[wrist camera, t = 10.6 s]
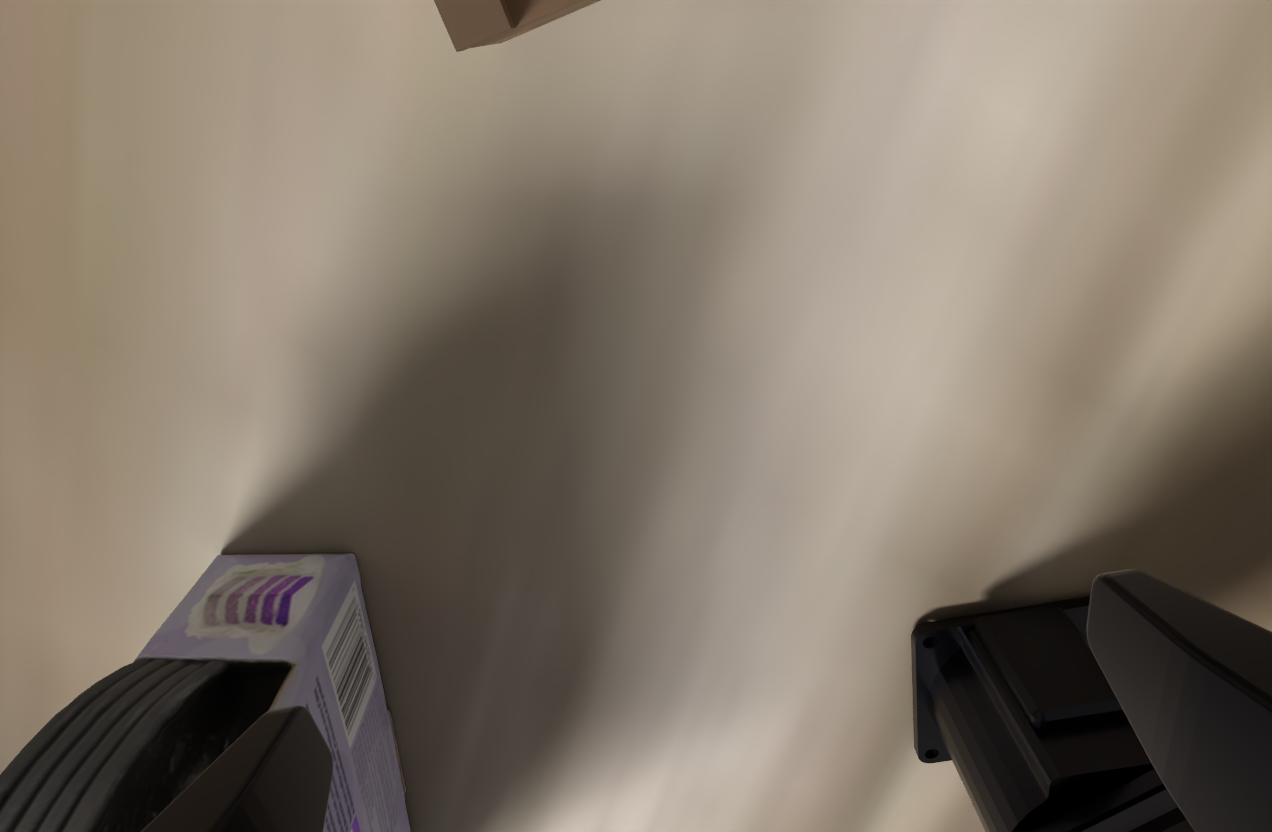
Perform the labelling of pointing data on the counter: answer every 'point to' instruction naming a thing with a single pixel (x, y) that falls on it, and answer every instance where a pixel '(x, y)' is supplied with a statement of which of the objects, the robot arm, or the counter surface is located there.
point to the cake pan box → (221, 703)
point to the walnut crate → (499, 18)
